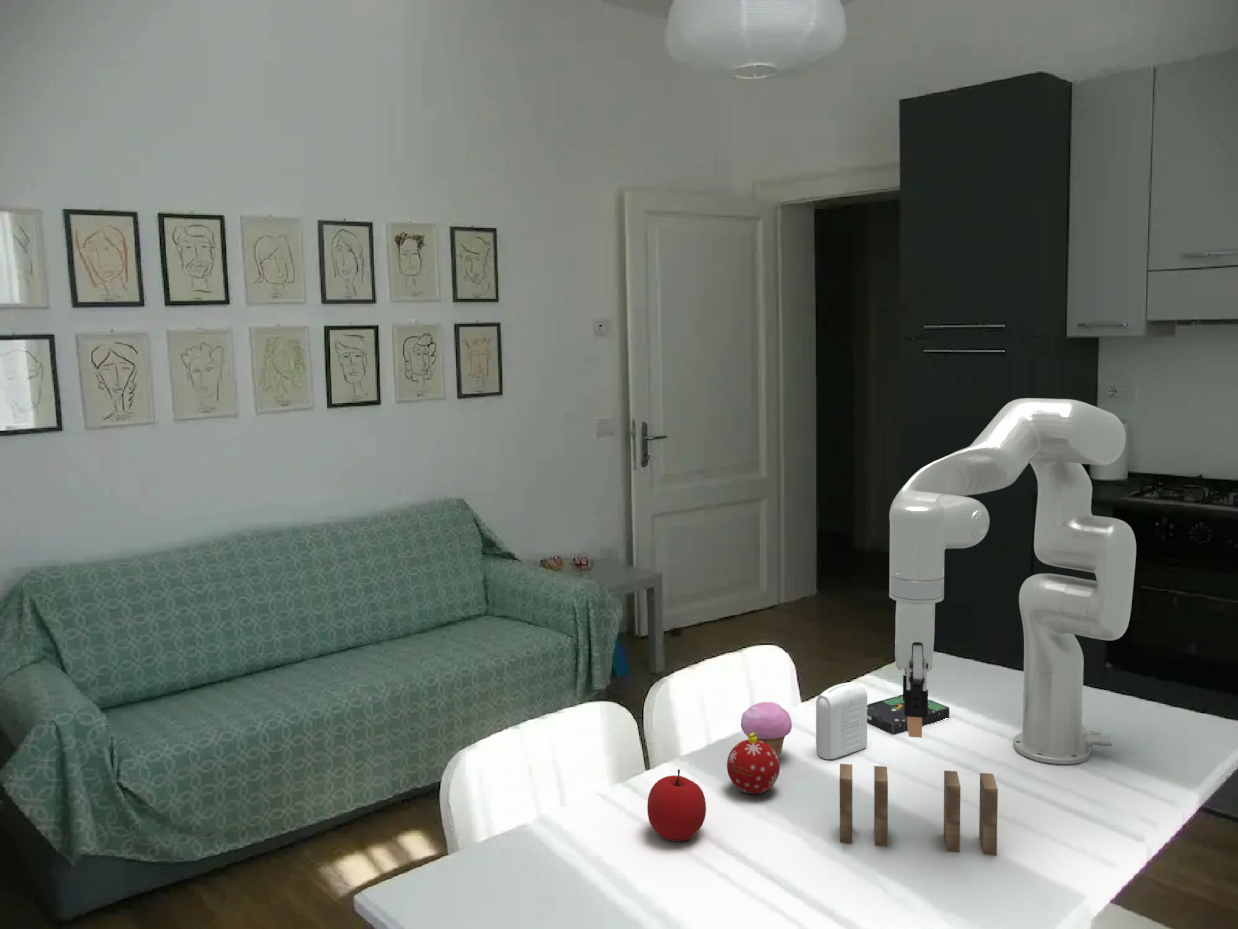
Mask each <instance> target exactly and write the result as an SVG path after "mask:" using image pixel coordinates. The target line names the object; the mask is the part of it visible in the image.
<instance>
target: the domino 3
mask: <svg viewBox="0 0 1238 929" xmlns="http://www.w3.org/2000/svg"><path fill="white" fill-rule="evenodd" d="M909 668H913V664H909ZM922 675H923V673H922ZM911 676H913V673H910V678H911ZM910 683H911V682H910ZM907 725H908V731H907V734H908V738H909V737H910V738H919V739H920V738H923V726H922V718H921V717H907Z"/></svg>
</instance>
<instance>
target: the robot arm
mask: <svg viewBox="0 0 1238 929" xmlns="http://www.w3.org/2000/svg"><path fill="white" fill-rule="evenodd" d="M1126 436H1127V434H1126V430H1125V427H1124V424H1123V423H1122V421H1121V420H1120V419H1119V418H1118V416H1117V415H1116V414H1114V413H1112V412H1110V411H1107V410H1104V409H1102V408H1099V407H1098V406H1094V405H1091V404H1089V403H1087V402H1084V401H1080V400H1077V399H1071V398H1067V399H1066V398H1040V397H1039V398H1038V397H1037V398H1036V397H1035V398H1033V397H1032V398H1030V397H1027V398H1026V397H1025V398H1017V399H1014V400H1012V401H1009V402H1007V403H1006V404H1005V405H1004V406H1003V407H1002V408H1001V409H1000V410H999V411H998V412H997V414H996V415H995V416H994V417H993V418H992V420H991V421H990V422H989V423H988V424H987V426H986V427H985V428H984V429H983V430H982V432H981V433H980V434H979V435H978V436H977V437H976V438H975V439H974V441H973V442H972V443H971V444H970V445H969V446H968V447H965V448H961V449H959V450H957V451H954V452H953V453H951V454H949V455H946V456H944V457H942V458H940V459H937V460H934V461H932V462H931V463H928V464H926V465H925V466H922V467H921V468H920V469H919V470H916V472H915V473H914V474H913V475H912V476H911V477H910V478H909V479H908V480H907V482H906V483H905V484H903V486H902V487H901V489H900V490H899V491H898V493H897V494H896V495H895V497H894V499H893V500H892V503H891V505H890V509H889V516H888V517H889V578H888V579H889V584H888V586H889V590H888V591H889V592H888V596H889V599H892V600H893V601H896V604H895V624H894V626H895V627H894V631H895V632H894V634H895V638H894V645H895V646H894V658H895V667H896V668H897V670H898V671H901V670H902V669H904V674H903V675H902V695H903V701H904V715H905V716H907V717H921V718H926V717H927V716H928V700H929V689H928V688H927V685H928V684H927V683H928V682H927V679H928V678H927V677H928V675H927V674H928V673H927V672H930V671H931V670H932V669H933V659H934V658H933V657H934V645H935V622H936V621H935V618H936V604H937V603H940V602H942V601H944V599H945V598H944V597H945V550H946V549H966V548H971V547H974V546H975V545H977V544H979V543H980V542H981V541H982V540H983V539H984V538H985V536H986V535H987V533H988V532H989V527H990V523H991V522H990V515H989V512H988V509H987V508H986V506H985V505H984V504H983V503H981V501H979V500H977V499H975V498H973V497H969V496H971V495H979V494H984V493H989V492H994V491H996V490H997V491H998V490H1001V489H1004V488H1006V487H1009V486H1011V485H1012V484H1014V483H1015V482H1016V480H1018V477H1019V476H1020V475H1021V474H1022V473H1023V471H1024V470H1025V468H1026V467H1027V466H1028V464H1030V465H1031V468H1032V469H1033V471H1034V472H1033V473H1035V476H1036V481H1037V502H1036V511H1035V512H1036V513H1035V525H1034V535H1033V536H1034V538H1033V539H1034V540H1033V548H1034V553H1035V556H1036V558H1037V559H1038V561H1040V562H1042V563H1043V564H1045V565H1049V566H1053V567H1058V568H1063V569H1069V570H1070V569H1071V570H1075V571H1083V572H1088V573H1093V574H1094V575H1095V578H1096V580H1093V579H1085V578H1081V577H1075V576H1069V575H1063V574H1057V573H1056V574H1055V573H1037V574H1033V575H1031V576H1029V577H1027V578H1026V579H1024V582H1023V583H1022V585H1021V587H1020V589H1019V593H1018V606H1019V611H1020V612H1019V613H1020V616H1021V623H1022V628H1023V629H1022V630H1023V642H1024V643H1023V646H1024V647H1023V654H1024V655H1023V656H1024V657H1023V692H1022V693H1023V694H1022V695H1023V699H1022V704H1023V705H1022V731H1021V732H1019V733H1017V734H1016V735H1015V736H1014V737H1013V738H1012V746H1013V748H1014V750H1015V751H1017V752H1018V753H1019V754H1020V755H1022V756H1024V757H1026V758H1028V759H1030V760H1034V761H1037V762H1042V763H1047V764H1053V765H1073V764H1075V765H1076V764H1080V763H1082V762H1083V763H1084V762H1085V761H1087V760H1089V758H1090V757H1091V754H1092V748H1091V747H1093V746H1100V747H1111V746H1113V745H1112V744H1113V742H1112V741H1113V740H1112V736H1111V734H1101V731H1100V730H1096V729H1095V730H1094V729H1091V730H1087V729H1086V728H1085V727H1084V726H1083V698H1084V697H1083V696H1084V695H1083V694H1084V693H1083V692H1084V662H1085V661H1084V654H1083V650H1082V647H1081V645H1080V643H1079V641H1078V639H1077V638H1076V636H1081V637H1085V638H1086V637H1087V638H1090V639H1096V640H1102V641H1103V640H1104V641H1115V640H1118V639H1120V638H1121V637H1123V635H1124V634H1125V633H1126V631H1127V629H1128V627H1129V622H1130V618H1131V614H1132V613H1131V612H1132V604H1133V603H1132V601H1133V593H1134V592H1133V591H1134V583H1135V582H1134V581H1135V570H1136V561H1137V560H1136V558H1137V542H1136V536H1135V532H1134V531H1133V529H1132V527H1131V526H1130V525H1129V524H1128V523H1127V522H1126V521H1124V520H1121V519H1119V518H1115V517H1109V516H1108V517H1107V516H1099V515H1093V513H1092V498H1093V485H1092V480H1091V479H1090V478H1091V477H1090V476H1089V474H1088V473H1087V471H1086V469H1085V467H1084V466H1083V465H1096V466H1107V465H1110V464H1113V463H1115V461H1117V460H1118V459H1119V458H1120V457H1121V455H1122V453H1123V451H1124V450H1125V446H1126V438H1127V437H1126ZM1075 635H1076V636H1075ZM909 664H913V668H909ZM910 673H913V676H911V678H910ZM922 673H923V675H922ZM910 682H911V683H910Z"/></svg>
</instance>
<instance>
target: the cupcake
mask: <svg viewBox="0 0 1238 929" xmlns="http://www.w3.org/2000/svg"><path fill="white" fill-rule="evenodd" d="M792 724H793V723H792V718H791V716H790V714H789V712H788V711H787V710H786V709H784V708H783V707H782V706H781V705H780V704H779V703H777V702H773V701H762V702H758V703H756V704H755V703H754V704H753V705H750V707H749V708H748V709H746V710H745V711H743V712H742V715H741V719H740V728H741V730H742V732H743V733H744V735H745V736H746V737H747V738H748V739H749V735H750V733H755V734H756V737H757V740H760V741H763V742H765V743H767V744H768V745H769V746H770V747H771V748H772V749H773V750H774V751H775V753H776V755H777V757H778V760H779V759H780V757H781V754H782V750H783V746H784V740H785V737H786V736H788V735H789V734H790V733H791V731H792V728H793V727H792V726H793V725H792ZM752 736H754V734H753V735H752Z"/></svg>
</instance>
